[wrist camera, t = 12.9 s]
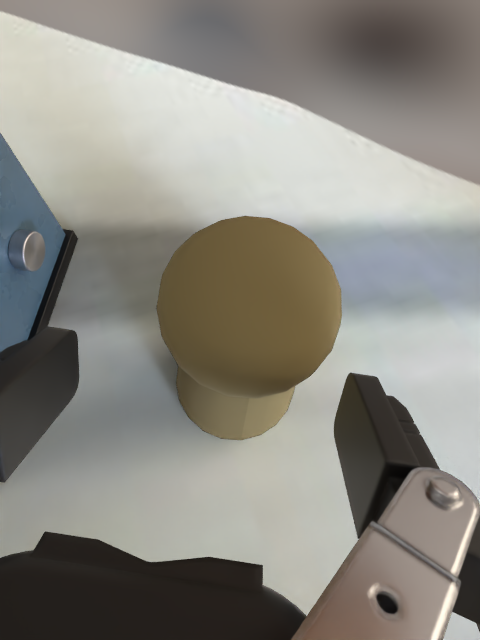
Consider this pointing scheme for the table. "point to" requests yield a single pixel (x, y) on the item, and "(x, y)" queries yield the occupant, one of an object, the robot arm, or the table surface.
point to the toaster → (27, 254)
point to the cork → (246, 321)
